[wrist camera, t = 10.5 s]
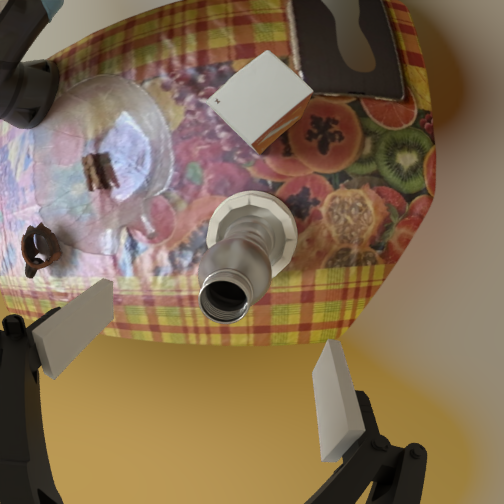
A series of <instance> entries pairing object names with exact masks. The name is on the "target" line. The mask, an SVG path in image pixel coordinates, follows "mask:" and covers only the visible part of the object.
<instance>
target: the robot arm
mask: <svg viewBox="0 0 504 504" xmlns="http://www.w3.org/2000/svg"><path fill="white" fill-rule="evenodd" d="M63 2H64V0H0V119H2V120H4V121H6V122H8V123H9V124H11V125H13V126H15V127H17V128H20V129H31V128H33V127H35V126H36V125H37V124H39V123H40V122H41V121H42V119H43V118H44V117H45V115H46V114H47V112H48V111H49V109H50V107H51V105H52V103H53V100H54V98H55V95H56V92H57V88H58V83H59V70H58V67H57V65H56V64H55V63H54V62H51V61H48V60H44V59H43V60H34V61H27V62H20V61H21V60H22V58H23V57H24V55H25V54H26V52H27V51H28V49H29V48H30V46H31V45H32V44H33V42H34V41H35V39H36V38H37V37H38V35H39V34H40V33H41V31H42V30H43V29H44V28H45V26H46V25H47V24H48V23H50V22H51V20H52V18H53V17H54V15H55V14H56V13H57V11H58V10H59V9H60V8H61V7H62V5H63ZM113 319H114V317H113V281H110V280H107V279H104V278H103V279H101V280H100V281H99V282H97V283H96V284H94V285H93V286H91V287H90V288H89V289H87V290H86V291H84V292H83V293H82V294H80V295H79V296H77V297H76V298H75V299H73V300H72V301H71V302H69V303H68V304H67V305H65V306H64V307H62V308H61V307H57V308H54V309H51V310H50V311H48V312H47V313H46V314H45V315H43V316H42V317H41V318H39V319H38V320H36V321H35V322H34V323H32V324H31V325H30V326H28V327H27V328H26V327H25V323H24V319H23V318H22V316H20V315H16V314H12V315H9V316H6V317H5V318H4V319H3V321H2V325H3V328H4V331H2V330H0V504H63V501H62V499H61V497H60V495H59V493H58V491H57V489H56V487H55V484H54V480H53V477H52V472H51V469H50V464H49V459H48V455H47V449H46V443H45V437H44V430H43V423H42V414H41V402H40V385H39V371H38V368H39V367H40V366H41V365H42V368H43V371H44V373H45V374H46V375H48V376H49V377H51V378H52V379H54V380H55V379H56V378H57V377H58V376H59V375H60V374H61V373H62V372H63V370H64V369H65V368H66V367H67V366H68V365H69V364H70V363H71V362H72V361H73V360H74V359H75V357H76V356H78V354H79V353H80V352H81V351H82V350H83V349H84V348H85V347H86V346H87V345H88V344H89V343H90V342H91V341H92V340H93V339H94V338H95V337H96V335H98V334H99V333H100V332H101V331H102V330H103V329H104V328H105V327H106V326H107V325H108V324H109V323H110V322H111V321H112V320H113ZM312 376H313V385H314V393H315V401H316V410H317V419H318V429H319V440H320V451H321V461H322V462H337V461H338V460H339V459H340V458H341V457H342V458H343V464H342V465H341V466H339V467H338V468H337V469H336V470H335V471H334V474H333V475H332V476H331V477H330V478H329V479H328V480H327V481H326V482H325V483H324V484H323V485H322V486H321V488H320V489H319V490H318V491H317V492H316V493H315V494H314V495H313V496H312V497H311V498H309V499H308V501H306V502H305V503H304V504H355V503H356V501H357V500H358V499H359V497H360V496H361V495H362V493H363V492H364V490H365V489H366V488H367V486H368V485H369V484H370V482H371V481H373V485H372V488H371V491H370V493H369V496H368V499H367V501H366V504H420V500H421V495H422V489H423V484H424V478H425V471H426V463H427V451H426V450H425V448H424V447H423V446H422V445H420V444H418V443H411V444H409V445H408V446H406V447H405V448H400V447H396V446H393V445H391V444H390V442H389V440H388V439H387V438H386V437H384V436H382V435H380V433H379V430H378V426H377V423H376V420H375V416H374V413H373V410H372V407H371V404H370V400H369V398H368V396H367V395H366V394H365V393H364V391H356V390H354V386H353V382H352V379H351V376H350V372H349V369H348V365H347V362H346V359H345V355H344V352H343V349H342V346H341V343H340V341H337V340H331V339H328V340H327V342H326V345H325V347H324V349H323V351H322V354H321V356H320V358H319V360H318V362H317V364H316V366H315V368H314V370H313V372H312Z"/></svg>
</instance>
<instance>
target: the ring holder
mask: <svg viewBox="0 0 504 504" xmlns="http://www.w3.org/2000/svg"><path fill="white" fill-rule="evenodd" d="M247 215H254V216H259V217H261V218H263V219H265V220H266V221H267V222H268V223H269V224H270V225H271V227H272V228H273V230H274V233H275V237H276V240H275V247H274V249H273V251H272V253H271V255H270V256H269V259H270V262H271V267H272V278H273V276H274V277H275V276H276V275H277V274H278V273H279V272H280V271H281V270H282V269H283V268H284V267H286V266H287V265H288V264H289V263H290V261H291V258H292V255H293V253H294V251H295V248H296V244H297V236H298V235H297V227H296V223H295V220H294V217H293V215H292V213H291V211H290V210H289V209H288V207H287V206H286V205H285V204H284V203H283V202H282V201H281V200H280V199H278V198H277V197H275V196H273V195H271V194H269V193H266V192H262V191H244V192H239V193H237V194H234V195H232V196H230V197H229V198H227V199H226V200H224V201H223V202H222V203H221V204H220V205H219V206H218V208H217V209H216V210H215V212H214V214H213V216H212V218H211V219H210V223H209V228H208V234H207V239H206V240H207V241H206V242H207V245H208V248H210V247H212V246H213V245H214V244H216V243H217V242H219V241H221V240H223V239H224V235H225V232H226V230H227V228H228V226H229V225H230V224H231V223H232V222H233V221H234V220H236V219H237V218H240V217H242V216H247Z"/></svg>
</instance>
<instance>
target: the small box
mask: <svg viewBox="0 0 504 504" xmlns="http://www.w3.org/2000/svg"><path fill="white" fill-rule="evenodd" d="M313 92H314V91H313V90H312V89H311V88H310V87H309V86H308V85H307V84H306V83H305V82H304V81H303V80H302V79H301V78H300V77H299V76H298V75H297V74H296V73H294V72H293V71H292V70H291V69H290V68H289V67H288V66H287V65H286V64H284V63H283V62H282V61H281V60H280V59H279V58H278V57H276V56H275V55H274V54H273V53H272V52H271V51H269V50H267V51H265V52H264V53H262V54H261V55H259V56H258V57H257V58H255V59H254V60H253V61H251V62H250V63H249V64H248V65H246V66H245V67H244V68H242V69H241V70H240V71H238V72H237V73H236V74H235V75H233V76H232V77H231V78H230V79H229V80H228V81H227V82H226V83H225V84H224V85H223V86H222V87H221V88H220V89H219V90H217V91H216V92H215V93H214V94H213V95H212V96H211V97H210V98H209V99H208V100H207V101H206V103H207V104H208V105H209V106H210V107H211V108H212V109H213V110H214V111H215V112H216V113H217V114H218V115H219V116H220V117H221V118H222V119H223V120H224V121H225V122H226V123H227V124H228V125H229V126H230V127H231V128H232V129H233V130H234V131H235V132H236V133H237V134H238V135H239V136H240V137H241V138H242V139H243V140H244V141H245V142H246V143H247V144H248V145H249V146H251V147H252V148H253V149H254V150H255V151H256V152H257V153H258V154H259V155H260V154H261V153H262V152H263V151H264V150H265V149H266V148H267V147H268V146H269V145H270V144H271V143H273V142H274V141H275V140H276V139H277V138H278V137H279V136H280V135H281V134H283V133H284V132H285V131H286V130H287V129H288V128H290V127H291V126H292V125H293V124H294V123H296V122H297V121H298V120H299V119H300V118H301V117H302V115H303V113H304V111H305V108H306V106H307V104H308V102H309V100H310V98H311V96H312V94H313Z"/></svg>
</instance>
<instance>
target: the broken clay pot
mask: <svg viewBox="0 0 504 504" xmlns="http://www.w3.org/2000/svg"><path fill="white" fill-rule="evenodd" d="M34 234H40V235H42V236H43V237H44V238H45V239H46V241H47V243H48V246H49V256H51V257H50V258H49V260H46V261H45V262H44V261H43V260H41V258H35V256H36V255H37V254H38V253H39V251H38V250H37V248H36V247H35V244H34ZM21 251H22V255H23V258H24V260H25V262H26V267H25V274H26V277H28V278H33V277H34V276H35V274H36V272H37V270H38V269H41V268H45V267H47V266H49V265H50V264H51V263H52V262H53V261H58V259H60V256H61V254H62V252H61V251H60V247H59V244H58V241H57V238H56V237H55V234H54V233H51V230H50V229H48V228H47V227H45V226H44V225H43V223H42V222H41V223H40V224H39V225H38V226H37V227H36V228H34V227H33V226H31V225H30V226H29V227H28V228H27V231H26V234H25V235H23V237H22V241H21Z"/></svg>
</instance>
